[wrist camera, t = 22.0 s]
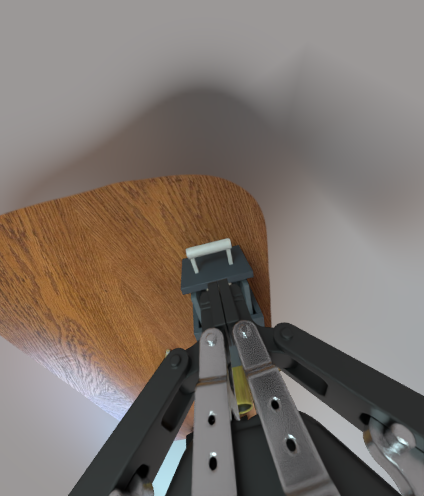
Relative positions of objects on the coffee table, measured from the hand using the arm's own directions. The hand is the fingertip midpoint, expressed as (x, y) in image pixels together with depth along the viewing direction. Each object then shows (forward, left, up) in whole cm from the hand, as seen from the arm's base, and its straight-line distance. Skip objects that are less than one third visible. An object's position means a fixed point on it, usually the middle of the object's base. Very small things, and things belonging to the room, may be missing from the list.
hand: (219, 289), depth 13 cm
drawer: (+11, 0, -17) cm, 20 cm away
